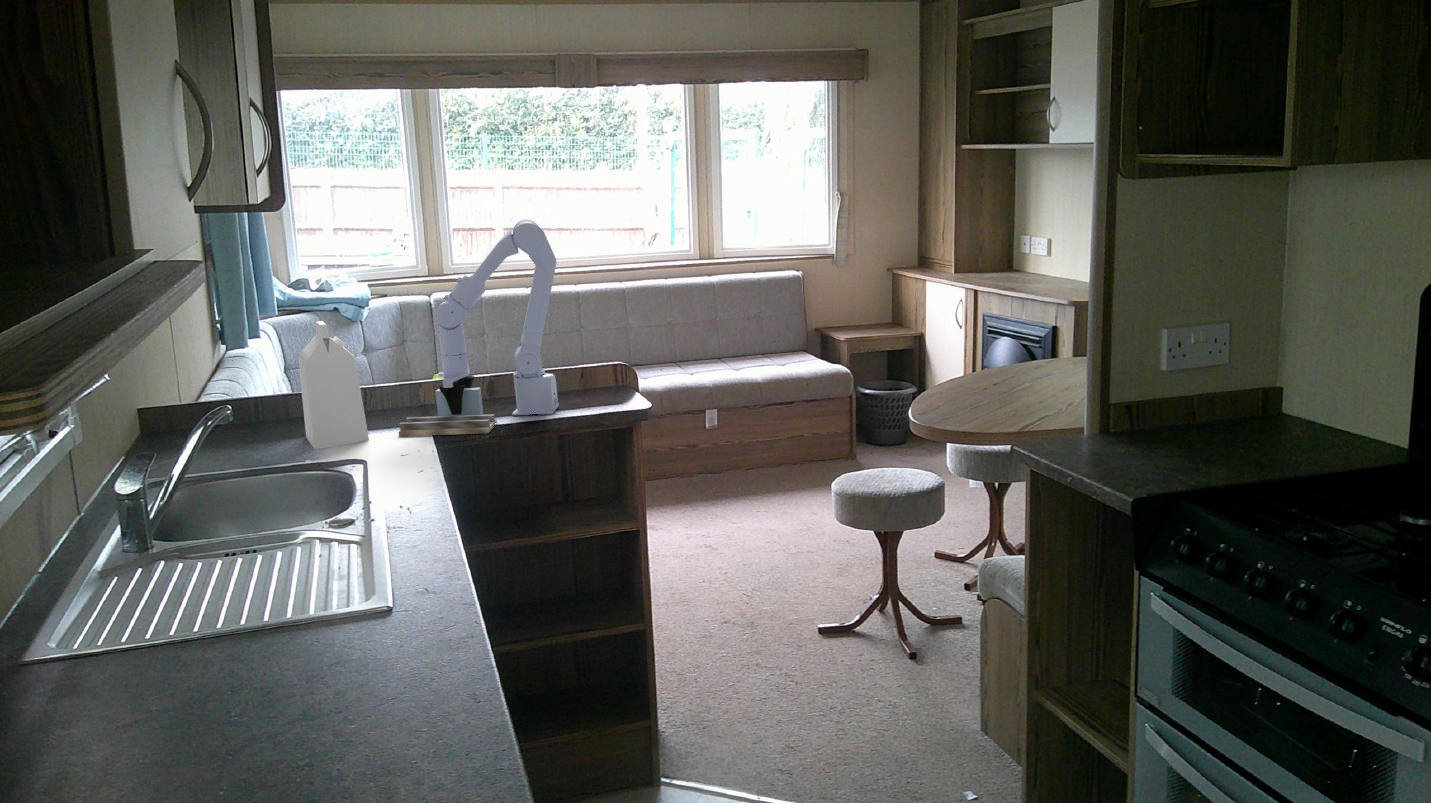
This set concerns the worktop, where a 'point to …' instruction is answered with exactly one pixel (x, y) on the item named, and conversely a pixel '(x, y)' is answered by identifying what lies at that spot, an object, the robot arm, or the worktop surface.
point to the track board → (447, 425)
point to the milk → (331, 392)
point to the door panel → (469, 403)
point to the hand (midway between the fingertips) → (460, 411)
